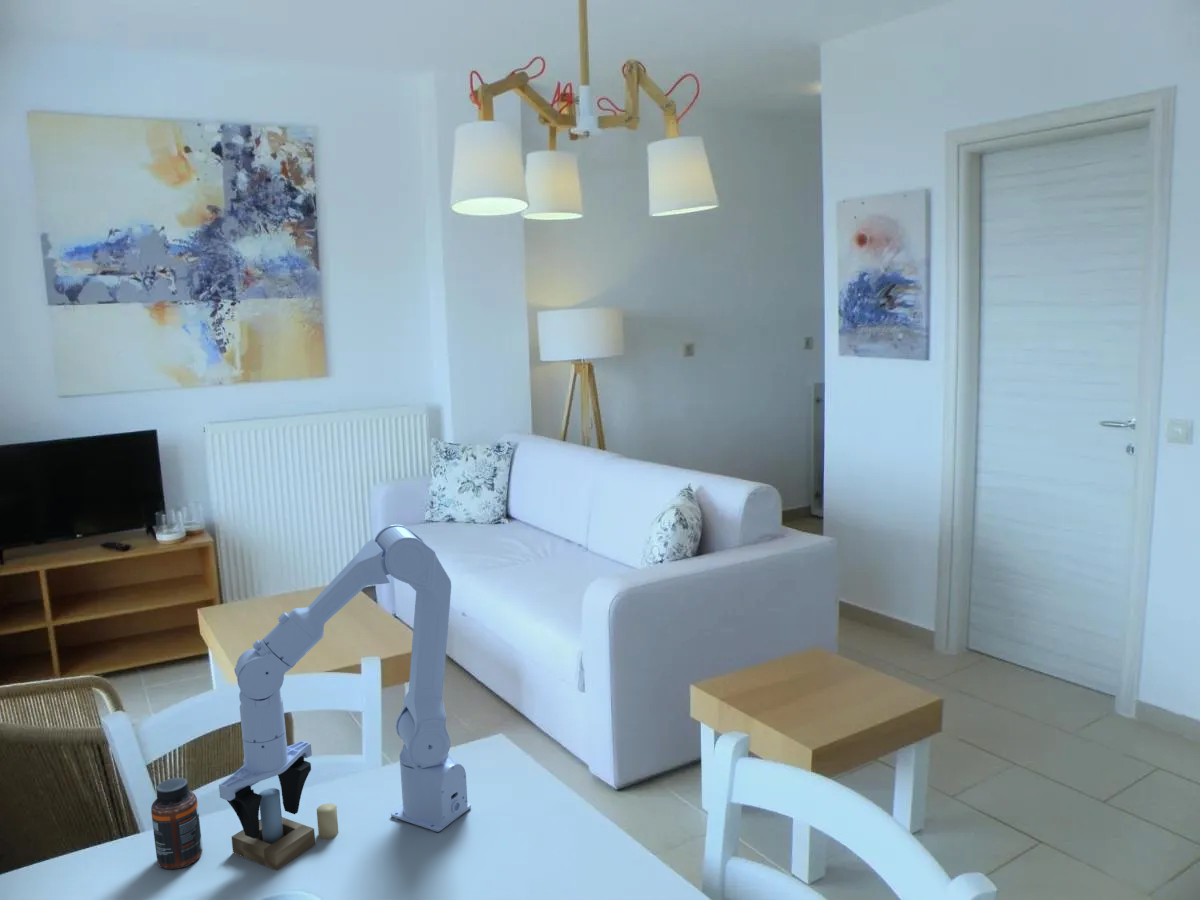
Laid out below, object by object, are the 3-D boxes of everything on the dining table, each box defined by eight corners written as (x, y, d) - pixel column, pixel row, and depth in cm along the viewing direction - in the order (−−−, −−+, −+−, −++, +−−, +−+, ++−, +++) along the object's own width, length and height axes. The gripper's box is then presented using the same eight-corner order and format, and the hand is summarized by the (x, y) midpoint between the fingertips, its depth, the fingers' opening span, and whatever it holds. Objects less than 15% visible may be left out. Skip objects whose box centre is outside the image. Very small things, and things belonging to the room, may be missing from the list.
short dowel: (342, 831, 139) (340, 806, 138) (328, 840, 136) (326, 815, 136) (328, 826, 140) (326, 801, 140) (314, 835, 138) (312, 810, 137)
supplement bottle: (211, 847, 136) (203, 773, 134) (189, 872, 130) (181, 795, 128) (171, 846, 136) (163, 773, 134) (148, 870, 130) (139, 794, 129)
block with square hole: (315, 844, 135) (314, 828, 135) (276, 870, 130) (275, 853, 129) (272, 828, 140) (271, 812, 140) (233, 852, 134) (231, 836, 134)
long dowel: (288, 846, 135) (283, 791, 134) (272, 856, 133) (267, 800, 132) (275, 841, 137) (270, 786, 135) (259, 850, 134) (254, 795, 133)
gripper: (285, 708, 140) (292, 793, 142) (200, 749, 128) (210, 841, 130) (318, 717, 137) (325, 804, 139) (235, 760, 124) (244, 855, 126)
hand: (272, 823), depth 134 cm, fingers open, 6 cm apart
